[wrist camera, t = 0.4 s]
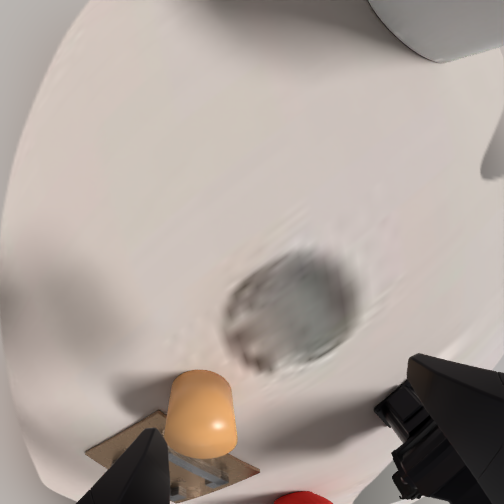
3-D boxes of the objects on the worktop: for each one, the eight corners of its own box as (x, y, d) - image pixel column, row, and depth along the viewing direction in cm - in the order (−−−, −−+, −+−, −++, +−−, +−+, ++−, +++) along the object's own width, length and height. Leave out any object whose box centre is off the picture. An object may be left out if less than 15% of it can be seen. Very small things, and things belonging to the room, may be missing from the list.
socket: (259, 469, 27) (262, 481, 25) (176, 501, 28) (176, 510, 26) (158, 409, 23) (156, 423, 21) (85, 451, 24) (82, 461, 22)
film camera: (381, 491, 35) (397, 520, 27) (393, 470, 33) (413, 502, 24) (436, 464, 37) (454, 487, 28) (452, 439, 35) (473, 464, 26)
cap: (243, 394, 24) (252, 440, 18) (201, 420, 24) (201, 465, 18) (201, 359, 22) (200, 406, 17) (159, 389, 23) (149, 435, 17)
